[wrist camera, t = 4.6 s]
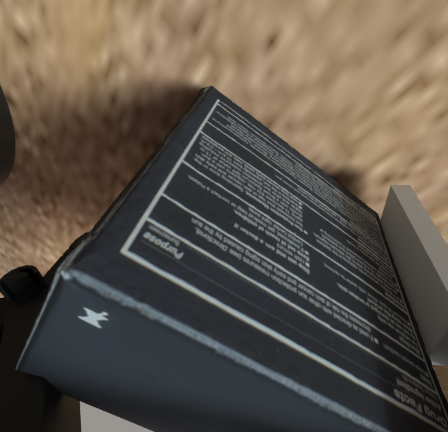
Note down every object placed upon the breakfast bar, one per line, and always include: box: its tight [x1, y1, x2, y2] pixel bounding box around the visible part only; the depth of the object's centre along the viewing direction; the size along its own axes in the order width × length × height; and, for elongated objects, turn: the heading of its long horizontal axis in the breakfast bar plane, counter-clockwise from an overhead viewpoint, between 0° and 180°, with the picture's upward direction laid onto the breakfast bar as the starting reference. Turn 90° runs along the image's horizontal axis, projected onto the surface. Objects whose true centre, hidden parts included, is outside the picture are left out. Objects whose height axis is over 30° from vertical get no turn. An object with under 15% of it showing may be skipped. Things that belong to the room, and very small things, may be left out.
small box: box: [15, 86, 448, 432], centre depth 11 cm, size 11×6×10 cm, turn 56°
